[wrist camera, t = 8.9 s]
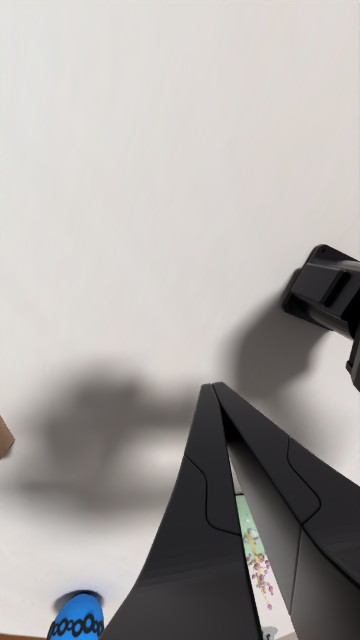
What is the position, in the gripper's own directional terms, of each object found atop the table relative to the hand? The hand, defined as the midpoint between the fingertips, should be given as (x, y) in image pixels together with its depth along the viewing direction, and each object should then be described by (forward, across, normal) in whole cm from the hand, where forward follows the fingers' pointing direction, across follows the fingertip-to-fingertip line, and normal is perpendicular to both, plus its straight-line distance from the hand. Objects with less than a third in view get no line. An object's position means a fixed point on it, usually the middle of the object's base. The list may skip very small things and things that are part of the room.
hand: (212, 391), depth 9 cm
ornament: (+12, +25, +50) cm, 57 cm away
